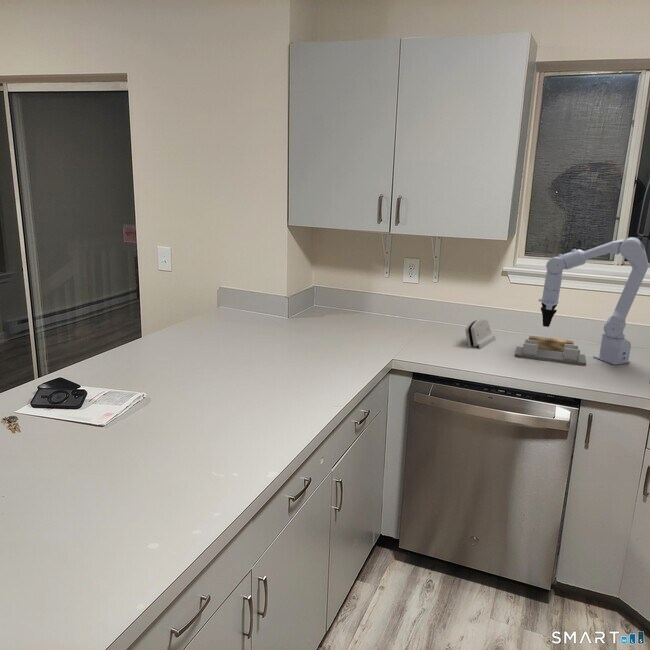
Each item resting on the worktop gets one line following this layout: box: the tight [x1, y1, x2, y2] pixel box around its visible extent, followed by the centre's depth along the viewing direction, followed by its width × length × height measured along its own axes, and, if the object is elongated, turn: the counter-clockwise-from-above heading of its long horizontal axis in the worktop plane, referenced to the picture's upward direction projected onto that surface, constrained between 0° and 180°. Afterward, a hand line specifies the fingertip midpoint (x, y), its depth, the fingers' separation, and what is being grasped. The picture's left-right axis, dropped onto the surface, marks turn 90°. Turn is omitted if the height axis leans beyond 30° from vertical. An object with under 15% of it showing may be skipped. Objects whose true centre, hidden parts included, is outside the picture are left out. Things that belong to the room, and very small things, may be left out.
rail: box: [528, 335, 575, 352], centre depth 224 cm, size 16×3×4 cm, turn 69°
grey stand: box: [465, 319, 497, 350], centre depth 230 cm, size 17×5×10 cm, turn 144°
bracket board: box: [514, 338, 587, 367], centre depth 214 cm, size 24×10×5 cm, turn 70°
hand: (546, 323), depth 223 cm, fingers open, 7 cm apart
